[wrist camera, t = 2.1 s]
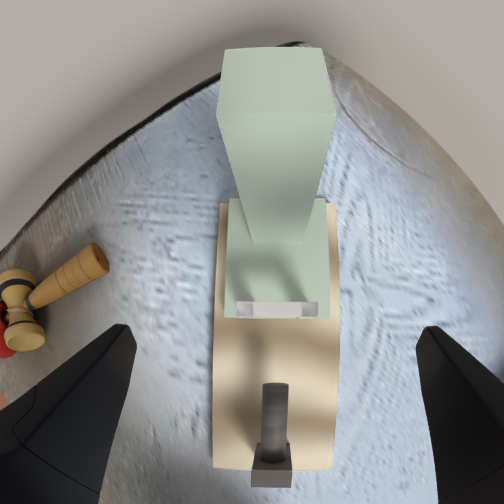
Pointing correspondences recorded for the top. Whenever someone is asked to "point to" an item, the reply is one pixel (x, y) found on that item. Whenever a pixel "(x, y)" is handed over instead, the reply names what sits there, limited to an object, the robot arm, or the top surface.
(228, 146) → the tall sage green column
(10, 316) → the kendama
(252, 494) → the top surface
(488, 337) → the top surface
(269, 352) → the board
